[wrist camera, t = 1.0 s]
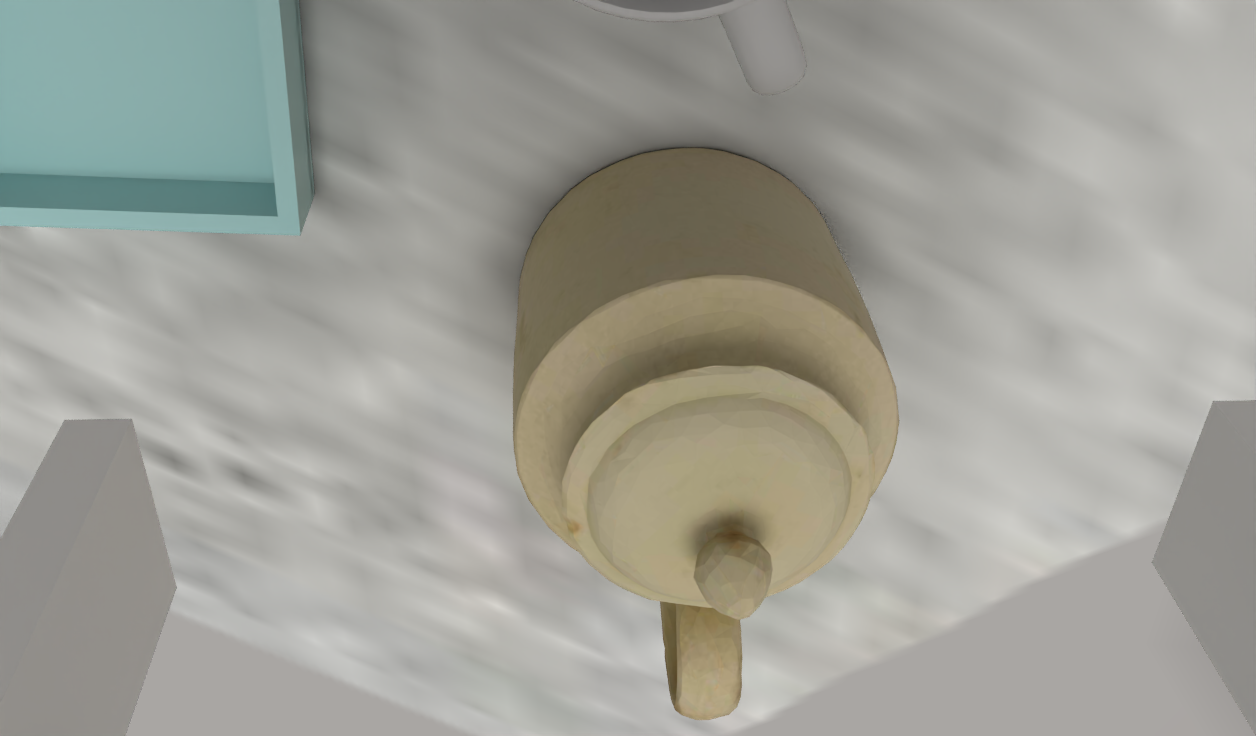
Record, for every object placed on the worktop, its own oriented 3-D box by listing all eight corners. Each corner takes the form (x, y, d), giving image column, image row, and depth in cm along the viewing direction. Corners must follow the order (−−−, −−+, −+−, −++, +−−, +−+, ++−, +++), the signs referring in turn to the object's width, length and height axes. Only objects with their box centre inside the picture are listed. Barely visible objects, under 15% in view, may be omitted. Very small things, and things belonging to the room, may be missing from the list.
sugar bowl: (920, 418, 44) (1071, 753, 32) (656, 532, 47) (700, 885, 34) (761, 81, 36) (879, 351, 24) (452, 237, 39) (415, 557, 26)
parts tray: (-116, -179, 31) (-169, -157, 29) (286, -154, 32) (267, -131, 29) (-24, 181, 37) (-62, 223, 34) (314, 193, 37) (300, 235, 35)
